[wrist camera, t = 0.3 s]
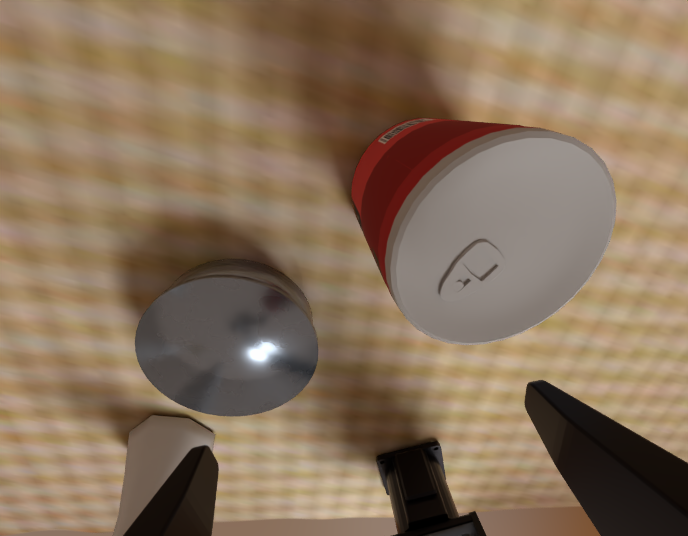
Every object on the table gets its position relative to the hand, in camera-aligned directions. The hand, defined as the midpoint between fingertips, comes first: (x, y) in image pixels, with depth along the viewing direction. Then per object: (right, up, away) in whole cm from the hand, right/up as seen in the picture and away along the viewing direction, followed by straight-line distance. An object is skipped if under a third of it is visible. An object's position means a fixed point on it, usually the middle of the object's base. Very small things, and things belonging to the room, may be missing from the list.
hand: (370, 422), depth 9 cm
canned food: (+3, +10, +12) cm, 16 cm away
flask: (-16, -11, +20) cm, 28 cm away
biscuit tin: (-9, 0, +15) cm, 17 cm away
